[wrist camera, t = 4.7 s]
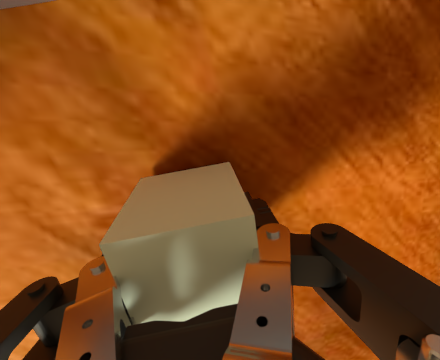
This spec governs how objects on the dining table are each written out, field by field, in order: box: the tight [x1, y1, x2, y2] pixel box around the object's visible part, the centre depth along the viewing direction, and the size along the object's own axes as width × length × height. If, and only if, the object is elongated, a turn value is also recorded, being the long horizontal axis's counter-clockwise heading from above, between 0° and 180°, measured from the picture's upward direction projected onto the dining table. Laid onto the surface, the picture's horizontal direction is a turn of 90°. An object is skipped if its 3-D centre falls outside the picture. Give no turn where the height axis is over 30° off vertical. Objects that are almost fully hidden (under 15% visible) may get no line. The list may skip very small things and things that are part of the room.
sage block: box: [99, 162, 258, 324], centre depth 11 cm, size 5×5×6 cm
